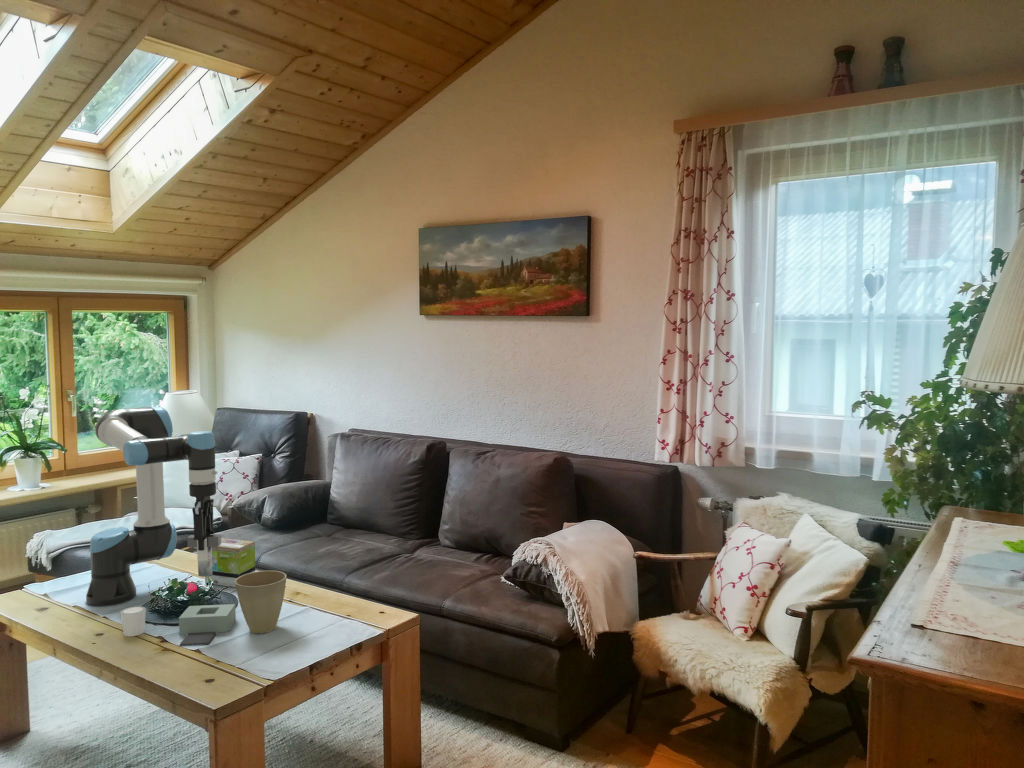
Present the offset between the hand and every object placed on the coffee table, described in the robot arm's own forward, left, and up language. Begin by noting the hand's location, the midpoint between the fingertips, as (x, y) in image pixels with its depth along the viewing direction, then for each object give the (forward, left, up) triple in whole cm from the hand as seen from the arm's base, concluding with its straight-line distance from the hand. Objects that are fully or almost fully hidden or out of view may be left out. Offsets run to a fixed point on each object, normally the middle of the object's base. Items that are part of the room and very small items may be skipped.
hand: (204, 557), depth 229 cm
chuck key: (0, 0, -5) cm, 5 cm away
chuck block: (0, 0, -22) cm, 22 cm away
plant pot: (+17, -4, -22) cm, 28 cm away
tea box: (-4, +43, -22) cm, 49 cm away
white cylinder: (-21, -2, -22) cm, 30 cm away
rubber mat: (0, -10, -22) cm, 24 cm away
